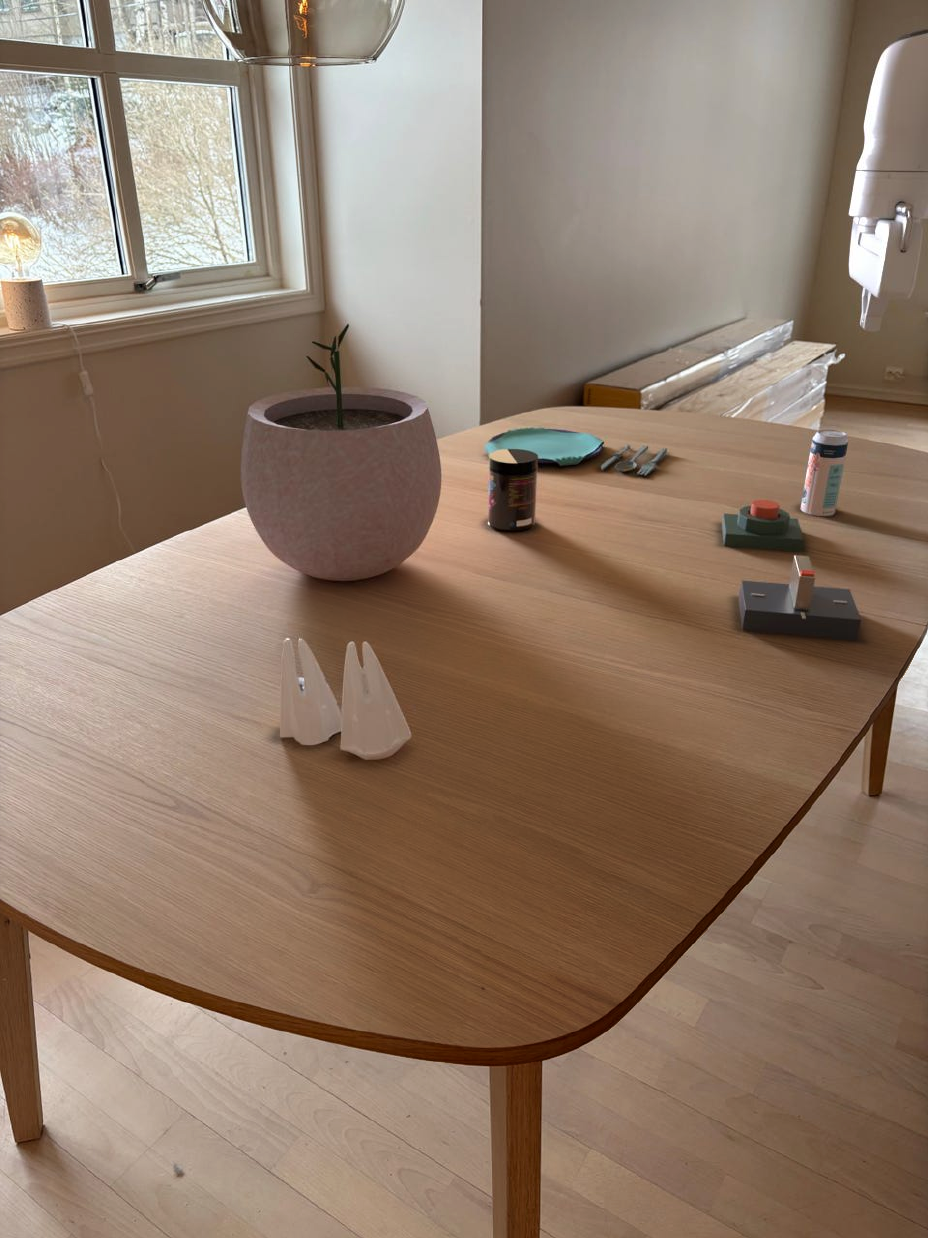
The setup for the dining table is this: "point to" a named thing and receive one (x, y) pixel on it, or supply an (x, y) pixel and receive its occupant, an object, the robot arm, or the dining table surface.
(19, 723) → the dining table surface
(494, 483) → the supplement container
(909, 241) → the robot arm
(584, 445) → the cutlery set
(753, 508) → the button
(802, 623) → the panel
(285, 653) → the shaker set
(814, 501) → the beer can
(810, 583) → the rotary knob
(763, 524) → the button block
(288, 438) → the plant pot
